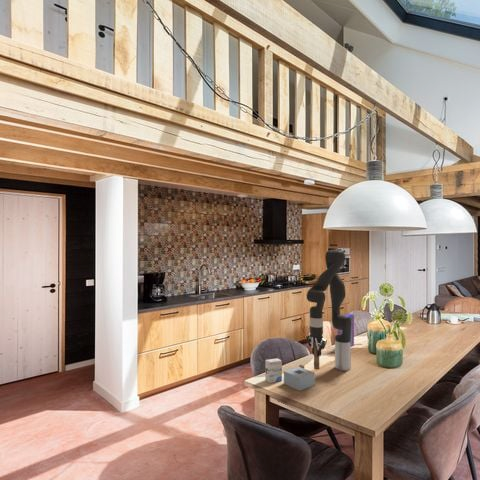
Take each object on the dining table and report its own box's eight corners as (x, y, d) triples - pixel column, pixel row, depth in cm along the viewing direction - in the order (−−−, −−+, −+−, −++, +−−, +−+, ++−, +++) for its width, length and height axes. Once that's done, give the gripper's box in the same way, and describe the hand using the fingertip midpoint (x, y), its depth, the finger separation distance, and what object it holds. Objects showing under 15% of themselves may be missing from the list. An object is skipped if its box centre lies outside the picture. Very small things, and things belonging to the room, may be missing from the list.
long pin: (316, 367, 203) (316, 343, 203) (320, 368, 200) (320, 344, 200) (312, 368, 201) (312, 344, 201) (317, 370, 199) (316, 345, 199)
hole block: (298, 378, 205) (298, 366, 205) (314, 385, 195) (314, 372, 195) (283, 383, 197) (283, 371, 197) (299, 390, 188) (299, 377, 188)
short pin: (301, 374, 211) (301, 364, 211) (305, 375, 209) (305, 365, 209) (298, 375, 209) (298, 365, 210) (301, 377, 207) (302, 366, 207)
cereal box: (343, 350, 259) (343, 317, 259) (337, 349, 262) (337, 316, 263) (354, 345, 272) (354, 314, 272) (348, 344, 275) (348, 313, 275)
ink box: (278, 377, 206) (278, 357, 206) (282, 381, 201) (282, 360, 201) (264, 379, 203) (264, 359, 203) (268, 383, 198) (268, 362, 198)
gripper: (330, 326, 197) (330, 357, 197) (311, 321, 208) (311, 350, 209) (321, 328, 193) (322, 360, 193) (302, 323, 204) (302, 353, 204)
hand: (316, 355), depth 201 cm, fingers closed on long pin, 3 cm apart
